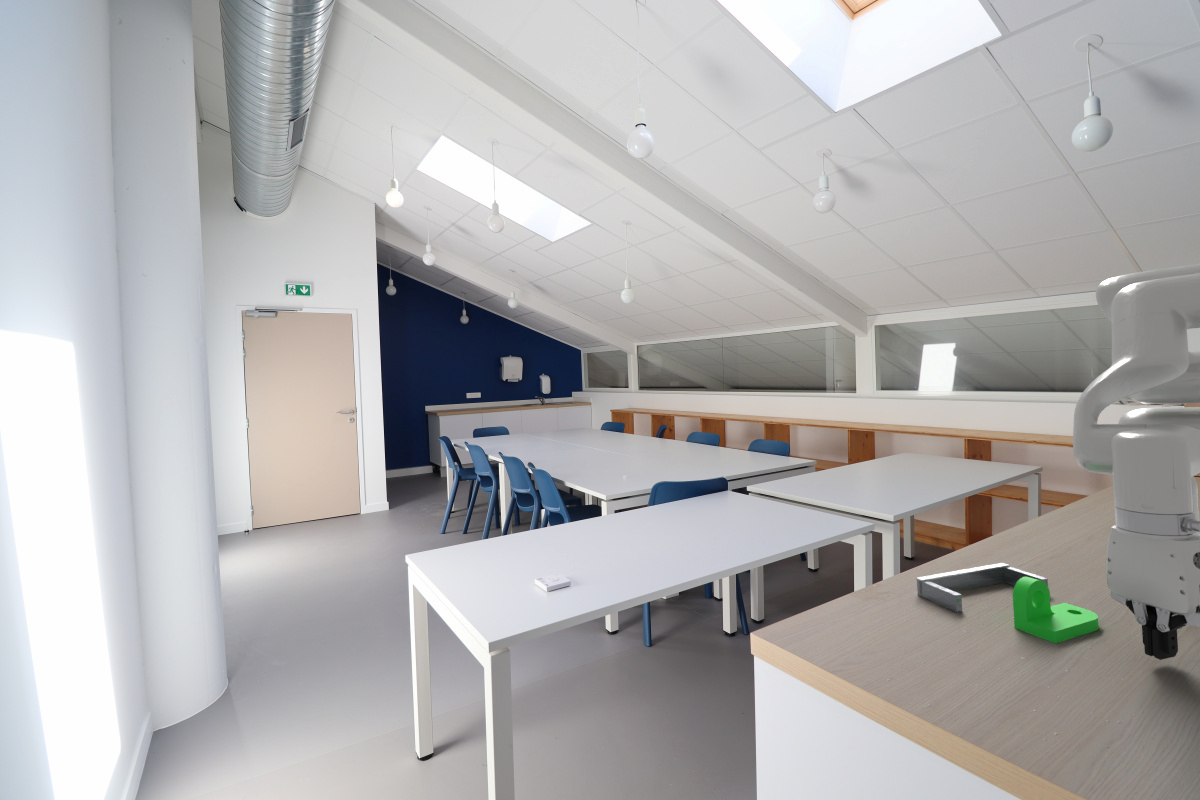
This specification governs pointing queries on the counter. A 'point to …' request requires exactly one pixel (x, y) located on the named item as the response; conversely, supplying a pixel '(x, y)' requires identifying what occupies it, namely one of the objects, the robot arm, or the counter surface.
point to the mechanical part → (1048, 613)
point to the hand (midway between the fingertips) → (1160, 655)
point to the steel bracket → (967, 583)
